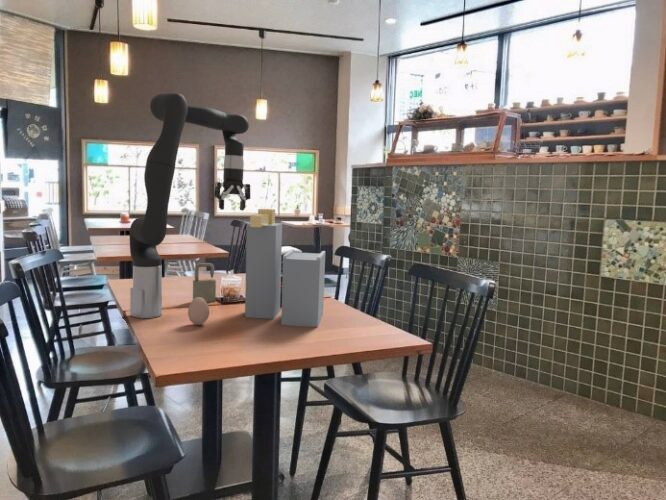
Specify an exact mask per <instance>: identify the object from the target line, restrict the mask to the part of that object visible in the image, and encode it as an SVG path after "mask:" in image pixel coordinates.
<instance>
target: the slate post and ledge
mask: <svg viewBox="0 0 666 500" xmlns="http://www.w3.org/2000/svg"><path fill="white" fill-rule="evenodd" d="M245 239H246V241H245V242H246V247H245V253H246V254H245V290H244V291H245V299H244V301H245V304H244V306H245V307H244V318H251V319H269V320H272V319H273V320H274V319H275V318H276V316H278V314H279V313H280V312H281V323H280V324H281V326H291V327H292V326H293V327H307V328H308V327H309V328H311V327H312V328H318V327H319V325H320V323H321V320H322V318H323V316H324V302H325V299H324V297H325V274H326V273H325V271H326V270H325V268H326V250H322V251H321V252H320V253H319V252H318V253H314V252H313V253H312V252H297V251H296V250H295V249H291V250H289V251H288V252H287V253H285V254H284V255H283V256H282V247H283V246H282V245H283V244H282V242H283V241H282V240H283V223H281V222H279V223H277V222H275V224H269V225H266V226H263V227H250V223H248V224H246V238H245ZM295 251H296V252H295ZM282 275H283V283H282V306H280V288H281V276H282Z"/></svg>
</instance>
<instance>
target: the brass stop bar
mask: <svg viewBox="0 0 666 500" xmlns="http://www.w3.org/2000/svg"><path fill="white" fill-rule="evenodd" d="M249 219H250V220H249V224H250V227H263V226H266V225H269V224H275V223H276V209H274V208H273V209H271V208H259V209H258V210H257V214H253V215H252V214H251V215H250V216H249Z"/></svg>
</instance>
